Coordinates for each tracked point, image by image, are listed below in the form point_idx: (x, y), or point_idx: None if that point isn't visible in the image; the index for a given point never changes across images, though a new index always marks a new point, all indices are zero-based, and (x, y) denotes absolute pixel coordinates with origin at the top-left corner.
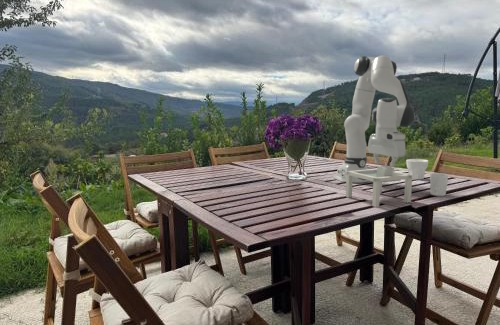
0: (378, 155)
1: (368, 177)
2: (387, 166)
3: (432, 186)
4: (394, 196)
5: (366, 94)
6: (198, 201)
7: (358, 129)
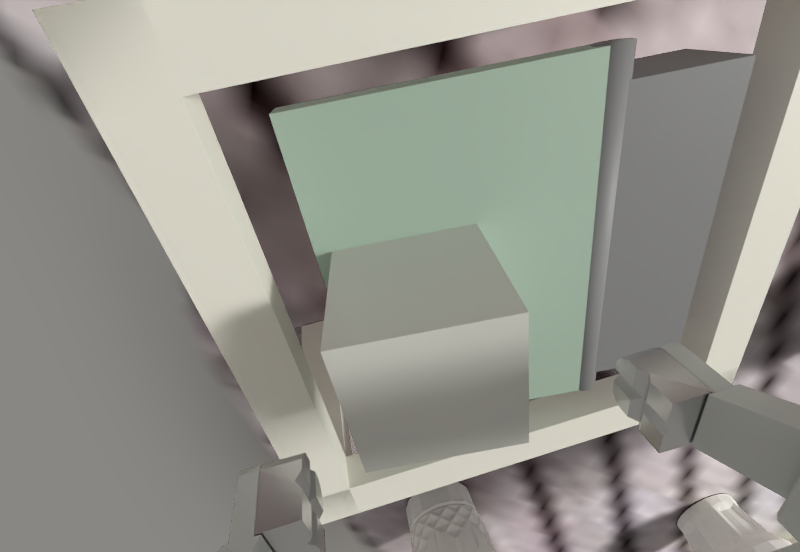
0: (789, 520)
1: None
2: (464, 434)
3: (449, 523)
4: None
5: None
6: None
7: None
